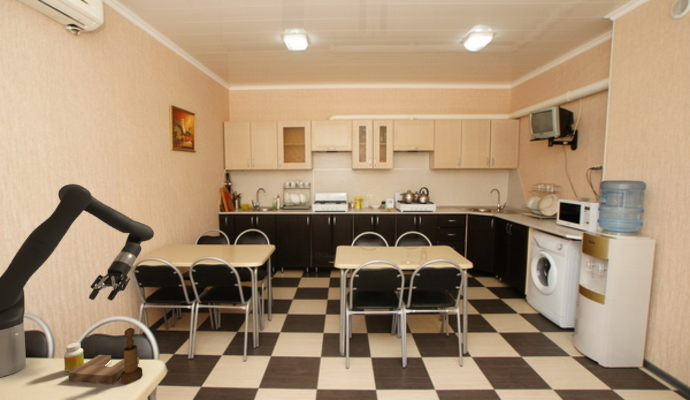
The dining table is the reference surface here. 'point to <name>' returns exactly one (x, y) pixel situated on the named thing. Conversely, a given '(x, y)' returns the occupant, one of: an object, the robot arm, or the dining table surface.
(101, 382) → the notched board
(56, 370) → the dining table surface
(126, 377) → the mortar and pestle
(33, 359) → the dining table surface
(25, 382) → the dining table surface
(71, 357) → the supplement bottle
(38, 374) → the dining table surface
